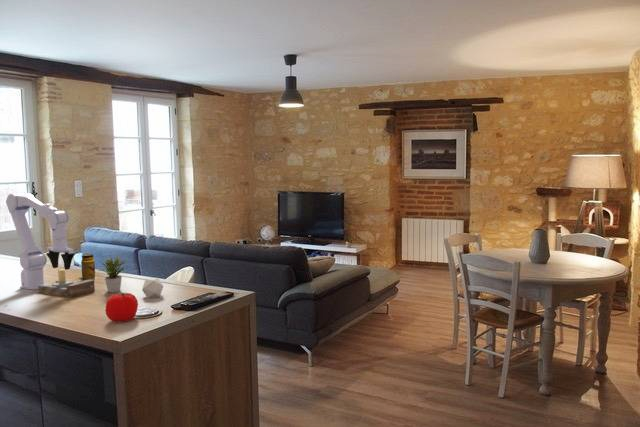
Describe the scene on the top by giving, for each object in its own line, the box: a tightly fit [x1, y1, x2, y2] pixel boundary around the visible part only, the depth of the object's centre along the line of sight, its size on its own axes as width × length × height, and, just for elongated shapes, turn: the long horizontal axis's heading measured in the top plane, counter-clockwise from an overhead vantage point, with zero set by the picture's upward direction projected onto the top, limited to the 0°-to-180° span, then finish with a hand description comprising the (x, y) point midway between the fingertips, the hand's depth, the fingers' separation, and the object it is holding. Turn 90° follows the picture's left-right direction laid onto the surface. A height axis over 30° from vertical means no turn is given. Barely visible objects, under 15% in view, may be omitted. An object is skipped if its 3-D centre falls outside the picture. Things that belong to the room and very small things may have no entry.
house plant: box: [97, 254, 129, 293], centre depth 234 cm, size 14×14×16 cm
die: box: [141, 277, 164, 299], centre depth 226 cm, size 8×9×10 cm
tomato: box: [105, 292, 139, 323], centre depth 193 cm, size 12×12×10 cm
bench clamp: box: [36, 279, 96, 298], centre depth 235 cm, size 22×12×5 cm, turn 65°
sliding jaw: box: [51, 268, 74, 288], centre depth 236 cm, size 5×7×8 cm
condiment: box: [76, 253, 98, 282], centre depth 260 cm, size 7×8×12 cm
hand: (61, 268), depth 235 cm, fingers open, 7 cm apart
